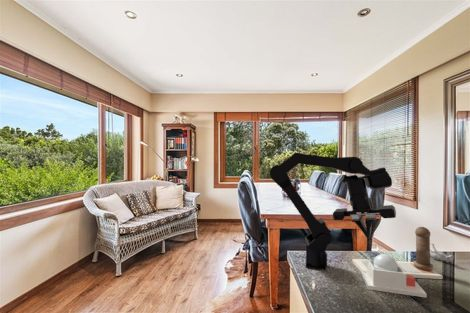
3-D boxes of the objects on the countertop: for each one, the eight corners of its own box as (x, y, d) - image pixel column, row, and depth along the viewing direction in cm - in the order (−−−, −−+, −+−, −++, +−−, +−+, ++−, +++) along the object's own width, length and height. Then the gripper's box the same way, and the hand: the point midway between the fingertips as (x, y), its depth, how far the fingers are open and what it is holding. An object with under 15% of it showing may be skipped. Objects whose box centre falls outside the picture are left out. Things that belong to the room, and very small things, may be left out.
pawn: (419, 270, 77) (419, 228, 78) (410, 263, 82) (409, 224, 83) (436, 270, 77) (436, 229, 77) (426, 264, 82) (425, 225, 82)
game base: (368, 289, 68) (367, 269, 68) (361, 274, 77) (361, 257, 77) (426, 297, 64) (426, 276, 64) (413, 281, 73) (412, 263, 73)
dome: (376, 278, 69) (376, 257, 69) (371, 269, 75) (371, 250, 75) (400, 281, 67) (400, 260, 67) (393, 272, 73) (393, 252, 73)
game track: (363, 274, 77) (363, 271, 77) (352, 261, 87) (352, 258, 87) (442, 279, 74) (442, 275, 74) (421, 265, 84) (421, 262, 84)
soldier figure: (433, 256, 95) (465, 257, 84) (428, 265, 93) (460, 269, 82) (417, 241, 96) (446, 241, 85) (412, 251, 94) (441, 252, 83)
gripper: (391, 185, 83) (402, 229, 82) (335, 191, 94) (344, 230, 93) (389, 191, 74) (401, 241, 73) (328, 197, 85) (338, 241, 84)
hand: (368, 238), depth 81 cm, fingers closed
